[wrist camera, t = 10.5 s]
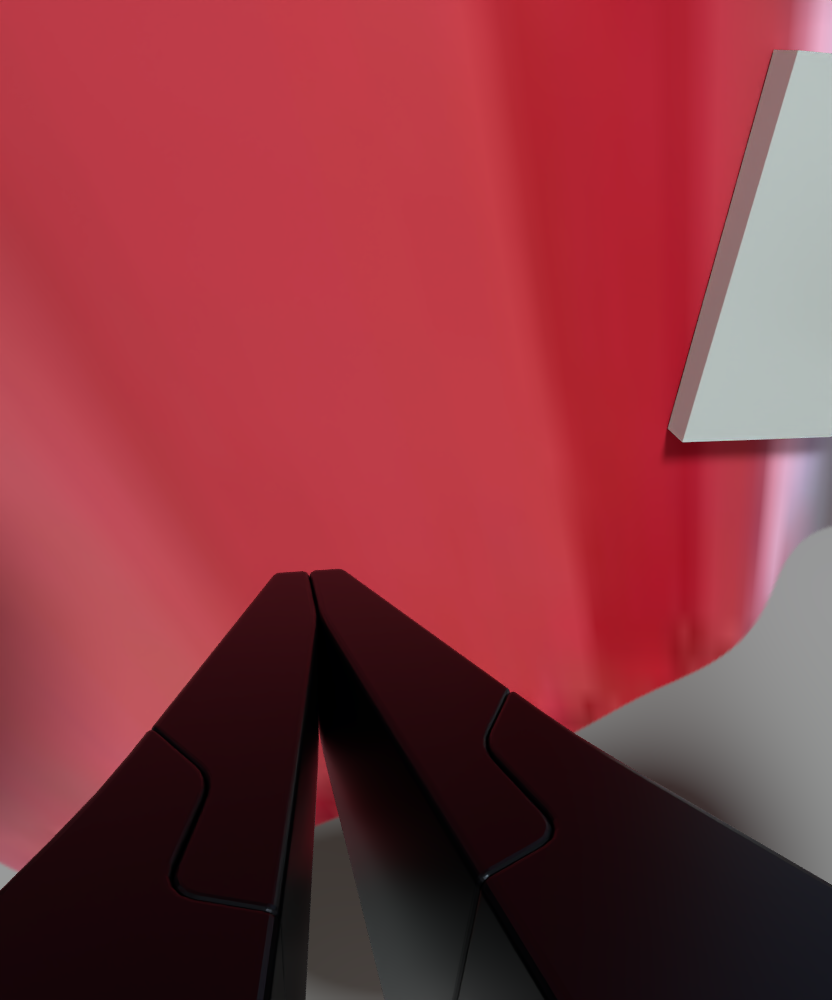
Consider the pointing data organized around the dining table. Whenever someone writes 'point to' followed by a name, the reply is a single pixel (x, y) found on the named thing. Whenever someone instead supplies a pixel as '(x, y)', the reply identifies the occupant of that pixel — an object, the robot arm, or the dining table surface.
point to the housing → (771, 276)
